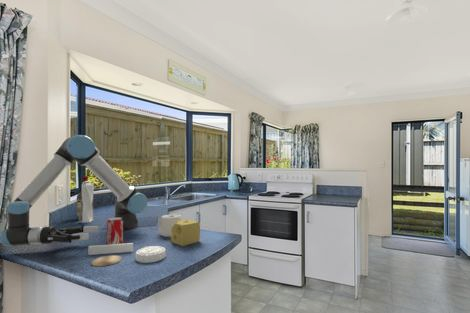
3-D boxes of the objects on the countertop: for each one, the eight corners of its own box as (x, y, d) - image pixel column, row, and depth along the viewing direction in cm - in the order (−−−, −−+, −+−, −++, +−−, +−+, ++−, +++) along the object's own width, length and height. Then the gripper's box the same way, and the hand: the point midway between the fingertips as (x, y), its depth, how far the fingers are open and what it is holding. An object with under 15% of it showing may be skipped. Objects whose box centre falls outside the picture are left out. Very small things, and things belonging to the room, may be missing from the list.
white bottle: (82, 221, 185) (82, 180, 186) (95, 220, 187) (95, 180, 187) (78, 224, 177) (78, 181, 177) (91, 223, 178) (91, 181, 179)
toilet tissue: (182, 235, 144) (182, 217, 145) (159, 238, 141) (159, 218, 141) (180, 231, 155) (180, 213, 155) (158, 233, 151) (158, 215, 151)
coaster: (116, 254, 116) (116, 253, 116) (125, 261, 108) (125, 260, 108) (88, 261, 109) (88, 260, 109) (95, 268, 101) (95, 267, 101)
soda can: (103, 248, 126) (103, 219, 126) (112, 243, 133) (112, 216, 133) (117, 248, 125) (117, 220, 125) (125, 243, 132) (125, 217, 132)
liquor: (85, 216, 200) (85, 176, 201) (95, 217, 197) (95, 176, 198) (74, 219, 192) (74, 177, 192) (84, 220, 189) (84, 177, 189)
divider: (133, 250, 121) (132, 242, 121) (132, 251, 120) (132, 243, 120) (89, 254, 117) (89, 245, 117) (88, 254, 116) (88, 246, 116)
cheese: (170, 242, 133) (170, 222, 134) (188, 237, 141) (188, 218, 141) (182, 246, 126) (182, 225, 126) (200, 241, 134) (200, 221, 134)
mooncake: (153, 251, 121) (153, 243, 121) (171, 256, 114) (171, 247, 114) (129, 259, 111) (129, 250, 111) (147, 265, 104) (147, 256, 104)
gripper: (55, 236, 135) (101, 233, 139) (27, 252, 110) (83, 248, 115) (55, 221, 135) (101, 218, 139) (27, 234, 111) (83, 231, 115)
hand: (93, 232), depth 127 cm, fingers open, 13 cm apart
